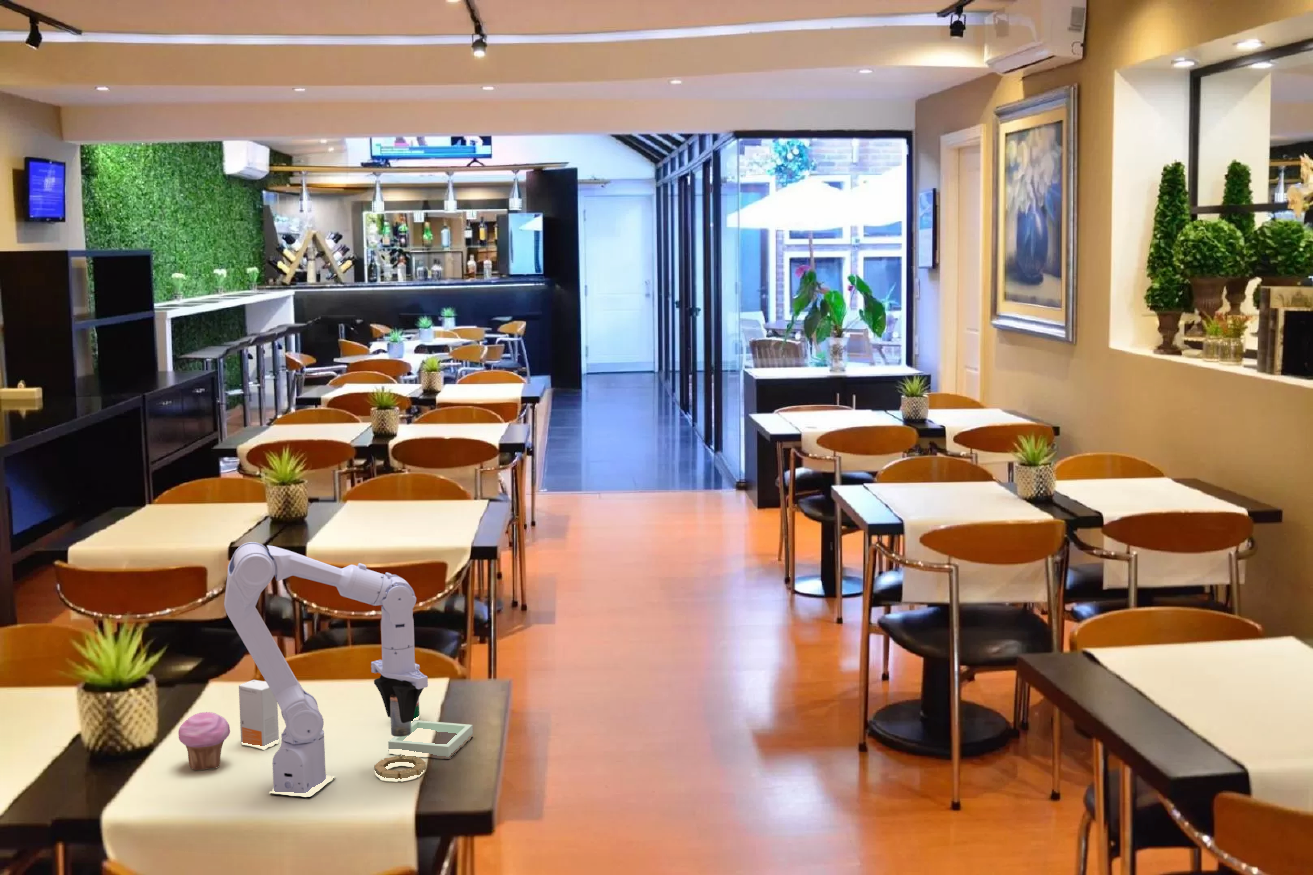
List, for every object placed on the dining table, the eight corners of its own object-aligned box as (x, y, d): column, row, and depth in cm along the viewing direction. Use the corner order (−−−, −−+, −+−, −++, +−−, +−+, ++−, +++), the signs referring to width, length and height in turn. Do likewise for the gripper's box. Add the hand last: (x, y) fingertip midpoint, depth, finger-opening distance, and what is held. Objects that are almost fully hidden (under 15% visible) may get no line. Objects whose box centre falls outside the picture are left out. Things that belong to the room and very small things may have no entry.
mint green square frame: (448, 759, 246) (448, 746, 246) (388, 754, 249) (388, 741, 248) (472, 737, 257) (472, 724, 257) (415, 732, 260) (414, 719, 260)
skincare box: (240, 745, 253) (237, 684, 252) (256, 738, 257) (253, 678, 256) (264, 751, 251) (261, 689, 249) (280, 743, 254) (277, 683, 253)
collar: (412, 784, 234) (412, 775, 234) (367, 779, 237) (367, 771, 236) (432, 766, 243) (431, 757, 243) (388, 762, 245) (388, 753, 245)
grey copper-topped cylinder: (415, 733, 239) (414, 695, 238) (397, 737, 237) (396, 699, 236) (404, 727, 242) (403, 690, 241) (387, 732, 240) (386, 695, 239)
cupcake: (178, 777, 238) (175, 723, 237) (182, 760, 246) (179, 708, 245) (230, 772, 240) (228, 718, 239) (232, 755, 249) (230, 703, 247)
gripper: (441, 648, 235) (443, 722, 237) (393, 632, 245) (395, 703, 247) (407, 656, 230) (410, 732, 232) (360, 640, 240) (362, 713, 242)
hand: (400, 718), depth 239 cm, fingers closed on grey copper-topped cylinder, 4 cm apart
